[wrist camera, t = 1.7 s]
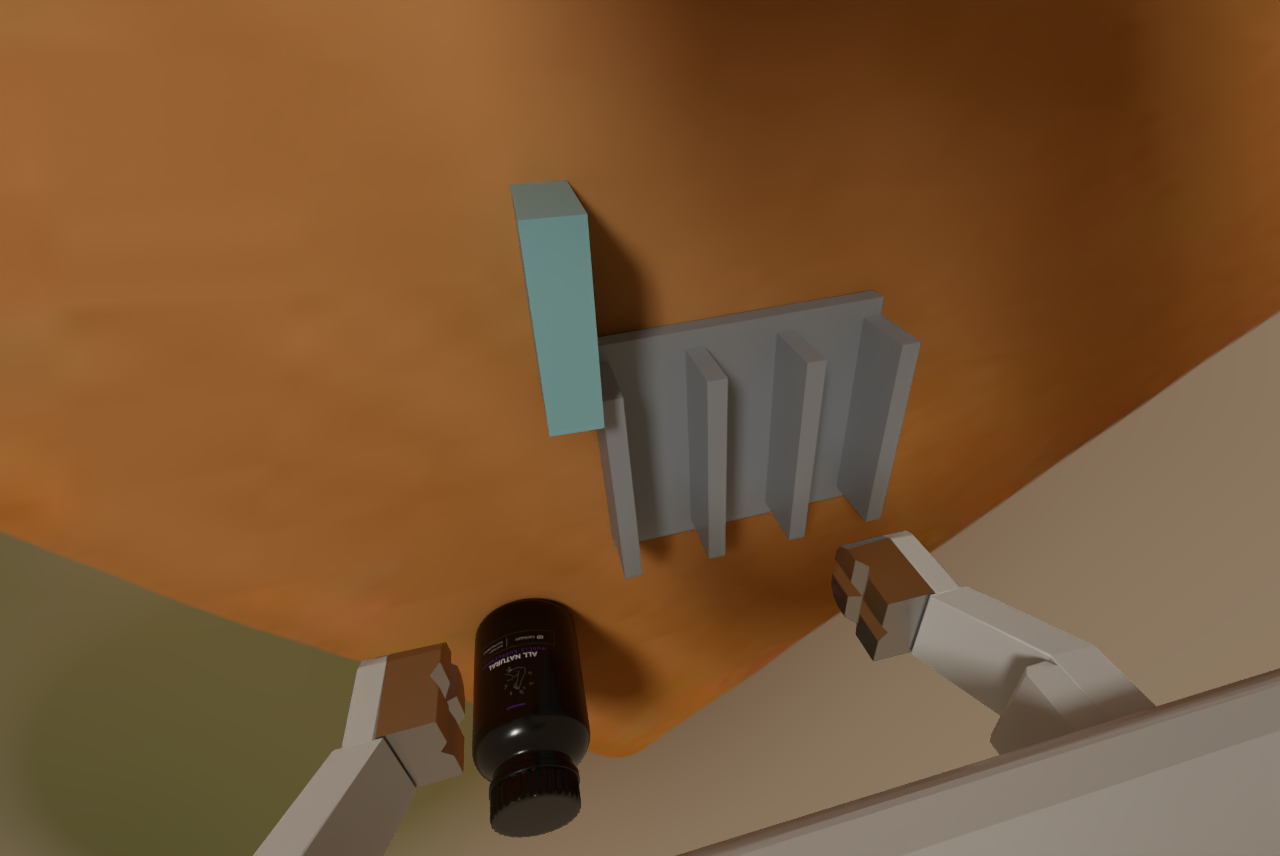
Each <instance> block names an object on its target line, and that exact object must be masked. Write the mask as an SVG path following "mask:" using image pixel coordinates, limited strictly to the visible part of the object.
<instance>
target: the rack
mask: <svg viewBox="0 0 1280 856" xmlns="http://www.w3.org/2000/svg"><path fill="white" fill-rule="evenodd" d="M883 299H884V296H882V295H880V294H879V293H877V292H876V291H874V290H871V291H865V292H859V293H853V294H847V295H842V296H836V297H830V298H824V299H818V300H812V301H807V302H801V303H795V304H789V305H783V306H777V307H772V308H766V309H760V310H754V311H748V312H742V313H737V314H731V315H725V316H719V317H713V318H707V319H702V320H696V321H690V322H684V323H678V324H672V325H667V326H661V327H655V328H649V329H643V330H637V331H632V332H626V333H620V334H614V335H608V336H602V337H597V340H598V352H599V365H600V377H601V389H602V402H603V414H604V427H605V428H602V429H597V434H598V440H599V447H600V454H601V461H602V468H603V475H604V482H605V488H606V495H607V502H608V509H609V516H610V523H611V530H612V536H613V540H614V544H615V547H617V549H618V553H619V557H620V561H621V564H622V568H623V572H624V575H625V579H626V578H631V577H635V576H639V575H642V566H641V557H640V548H639V542H640V541H645V540H649V539H653V538H658V537H662V536H667V535H671V534H675V533H680V532H684V531H689V530H693V529H696V531H697V533H698V536H699V538H700V540H701V542H702V545H703V547H704V549H705V551H706V554H707V556H708V558H709V559H711V558H716V557H720V556H724V555H725V535H726V522H729V521H733V520H737V519H742V518H746V517H751V516H755V515H759V514H764V513H768V512H772V514H773V515H774V517H775V519H776V520H777V522H778V524H779V525H780V527H781V528H782V530H783V532H784V533H785V535H786V536H787V538H788V540H792V539H797V538H801V537H804V536H805V529H806V521H807V513H808V505H809V503H812V502H817V501H821V500H826V499H830V498H835V497H839V496H843V495H844V496H845V497H846V499H847V500H848V501H849V502H850V504H851V505H852V506H853V507H854V509H855V510H856V511H857V512H858V514H859V515H860V516H861V517H862V519H863V520H864V521H865V522H869V521H873V520H877V519H881V514H882V510H883V506H884V501H885V497H886V493H887V488H888V484H889V480H890V475H891V471H892V467H893V462H894V458H895V454H896V449H897V445H898V440H899V436H900V432H901V427H902V423H903V419H904V414H905V410H906V406H907V401H908V397H909V393H910V388H911V384H912V380H913V375H914V371H915V367H916V362H917V358H918V354H919V349H920V345H921V341H919V340H918V339H916V338H915V337H914V336H912V335H911V334H909V333H908V332H906V331H905V330H903V329H902V328H900V327H899V326H897V325H896V324H894V323H893V322H891V321H890V320H889V319H887V318H886V317H884V316H883V315H881V310H882V305H883Z"/></svg>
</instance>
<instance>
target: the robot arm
mask: <svg viewBox="0 0 1280 856" xmlns="http://www.w3.org/2000/svg"><path fill="white" fill-rule="evenodd" d="M835 559H836V561H837V562H838V564H839V567H838V568H837V569H836V570H835V571H834V572H833V574H832V583H831V585H832V590H833V595H834V598H835V600H836V603H837V605H838V607H839V609H840V610H841V612H842V613H843V615H844V616H845V617H846V618H848V619H850V620H852V621H853V622H855V623H857V627H856V635H857V637H858V638H859V640H860V641H861V643H862V645H863V646H864V648H865V649H866V651H867V652H868V654H869V655H870V657H871V659H872V660H873V661H876V660H880V659H884V658H888V657H893V656H897V655H901V654H905V653H909V652H912V653H911V654H912V655H913V656H915V657H916V658H917V659H919V660H920V661H922V662H923V663H925V664H926V665H928V666H929V667H930V668H932V669H933V670H935V671H936V672H938V673H939V674H941V675H942V676H944V677H945V678H946V679H948V680H949V681H951V682H952V683H954V684H955V685H957V686H958V687H959V688H961V689H962V690H964V691H965V692H967V693H968V694H970V695H971V696H973V697H974V698H975V699H977V700H978V701H980V702H981V703H983V704H984V705H986V706H987V707H989V708H990V709H991V710H993V711H994V712H996V713H998V714H999V715H1000V716H1001V717H1000V719H999V720H998V722H997V724H996V726H995V728H994V730H993V732H992V734H991V739H990V742H991V744H992V745H993V747H994V748H995V749H996V751H997V752H998V753H999V756H995V757H992V758H989V759H986V760H983V761H979V762H976V763H973V764H970V765H966V766H964V767H960V768H957V769H954V770H950V771H947V772H944V773H941V774H938V775H934V776H931V777H928V778H925V779H921V780H918V781H915V782H912V783H908V784H905V785H902V786H899V787H896V788H892V789H889V790H886V791H883V792H880V793H876V794H873V795H870V796H867V797H863V798H860V799H857V800H854V801H850V802H848V803H844V804H841V805H838V806H835V807H831V808H828V809H825V810H822V811H818V812H815V813H812V814H809V815H806V816H802V817H799V818H796V819H793V820H789V821H786V822H783V823H780V824H776V825H773V826H770V827H767V828H763V829H760V830H757V831H754V832H751V833H747V834H744V835H741V836H738V837H734V838H731V839H728V840H725V841H722V842H719V843H716V844H712V845H709V846H706V847H702V848H699V849H696V850H693V851H689V852H686V853H683V854H680V855H677V856H1280V668H1279V669H1276V670H1273V671H1269V672H1267V673H1263V674H1260V675H1257V676H1253V677H1250V678H1247V679H1244V680H1240V681H1237V682H1234V683H1231V684H1228V685H1224V686H1221V687H1218V688H1215V689H1212V690H1208V691H1205V692H1202V693H1199V694H1195V695H1193V696H1189V697H1186V698H1182V699H1179V700H1177V701H1173V702H1170V703H1166V704H1163V705H1160V706H1157V707H1156V706H1155V705H1154V704H1153V703H1152V702H1151V701H1150V700H1149V699H1148V698H1147V697H1146V696H1145V695H1144V694H1143V693H1142V692H1141V691H1140V690H1139V689H1138V688H1137V687H1136V686H1135V685H1134V684H1133V683H1132V682H1131V681H1130V680H1129V679H1128V678H1127V677H1126V676H1125V675H1124V674H1123V673H1122V672H1121V671H1120V670H1119V669H1118V668H1116V667H1115V666H1114V665H1113V664H1112V663H1111V662H1110V661H1109V660H1108V659H1107V658H1106V657H1105V656H1104V655H1103V654H1102V653H1101V652H1100V651H1099V650H1098V649H1097V648H1096V647H1095V646H1094V645H1092V644H1090V643H1087V642H1085V641H1083V640H1081V639H1079V638H1077V637H1075V636H1072V635H1070V634H1068V633H1066V632H1064V631H1062V630H1060V629H1058V628H1056V627H1053V626H1051V625H1049V624H1047V623H1045V622H1043V621H1041V620H1038V619H1036V618H1034V617H1032V616H1030V615H1028V614H1026V613H1024V612H1021V611H1019V610H1017V609H1015V608H1013V607H1011V606H1009V605H1007V604H1004V603H1002V602H1000V601H998V600H996V599H993V598H992V597H989V596H987V595H985V594H983V593H981V592H979V591H977V590H975V589H972V588H970V587H968V586H963V587H959V585H958V584H957V583H956V582H955V581H954V580H953V579H952V578H951V577H950V575H949V574H948V573H947V572H946V571H945V570H944V569H943V568H942V567H941V566H940V564H939V563H938V562H937V561H936V560H935V559H934V558H933V557H932V555H931V554H930V553H929V552H928V551H927V550H926V549H925V548H924V546H923V545H922V544H921V543H920V542H919V541H918V540H917V539H916V538H915V536H914V535H913V534H912V533H910V532H908V531H901V532H897V533H893V534H889V535H885V536H878V537H874V538H870V539H866V540H863V541H859V542H855V543H851V544H847V545H843V546H840V547H839V548H838V549H837V551H836V557H835ZM464 716H465V695H464V685H463V681H462V677H461V673H460V671H459V669H458V666H456V665H454V664H452V663H451V651H450V649H449V647H448V645H447V643H446V642H445V643H440V644H435V645H431V646H426V647H421V648H417V649H412V650H407V651H403V652H398V653H393V654H389V655H384V656H380V657H376V658H372V659H367V660H363V661H362V662H361V664H360V666H359V668H358V670H357V675H356V679H355V684H354V689H353V695H352V699H351V704H350V709H349V714H348V719H347V724H346V729H345V734H344V739H343V744H342V748H340V749H336V750H333V751H332V753H331V754H330V755H329V757H328V758H327V759H326V761H325V762H324V763H323V764H322V766H321V767H320V768H319V770H318V771H317V772H316V774H315V775H314V776H313V778H312V779H311V780H310V782H309V783H308V784H307V785H306V787H305V788H304V789H303V791H302V792H301V793H300V795H299V796H298V797H297V799H296V800H295V801H294V803H293V804H292V805H291V807H290V808H289V809H288V811H287V812H286V813H285V814H284V816H283V817H282V818H281V820H280V821H279V822H278V824H277V825H276V826H275V828H274V829H273V830H272V832H271V833H270V834H269V835H268V837H267V838H266V839H265V841H264V842H263V843H262V845H261V846H260V847H259V849H258V850H257V851H256V853H255V854H254V855H253V856H383V855H384V853H385V851H386V849H387V847H388V846H389V844H390V842H391V840H392V838H393V836H394V834H395V832H396V830H397V829H398V827H399V825H400V823H401V821H402V819H403V817H404V815H405V813H406V811H407V809H408V808H409V806H410V804H411V802H412V800H413V798H414V796H415V794H416V792H417V789H416V788H417V787H421V786H424V785H427V784H431V783H434V782H437V781H440V780H443V779H447V778H450V777H454V776H457V775H460V774H463V770H464V736H463V734H462V732H461V730H460V728H459V723H460V722H461V720H462V719H463V717H464Z"/></svg>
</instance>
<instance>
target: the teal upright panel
mask: <svg viewBox="0 0 1280 856" xmlns="http://www.w3.org/2000/svg"><path fill="white" fill-rule="evenodd" d="M510 188H511V195H512V201H513V208H514V214H515V221H516V228H517V234H518V241H519V248H520V254H521V261H522V268H523V274H524V281H525V287H526V294H527V301H528V307H529V314H530V321H531V327H532V334H533V340H534V347H535V354H536V360H537V367H538V373H539V379H540V385H541V391H542V396H543V402H544V408H545V414H546V419H547V425H548V431H549V437H550V436H557V435H563V434H570V433H576V432H583V431H589V430H595V429H602V428H605V427H604V414H603V402H602V389H601V377H600V365H599V352H598V340H597V327H596V315H595V303H594V290H593V278H592V265H591V253H590V241H589V228H588V216H587V213H586V211H585V209H584V208H583V206H582V205H581V203H580V201H579V200H578V198H577V196H576V195H575V193H574V192H573V190H572V188H571V187H570V185H569V183H568V182H567V180H564V181H552V182H539V183H527V184H515V185H510Z"/></svg>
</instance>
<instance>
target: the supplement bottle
mask: <svg viewBox="0 0 1280 856" xmlns="http://www.w3.org/2000/svg"><path fill="white" fill-rule="evenodd" d="M589 742H590V727H589V720H588V713H587V706H586V699H585V692H584V685H583V678H582V671H581V664H580V657H579V650H578V643H577V636H576V630H575V625H574V621H573V619H572V617H571V615H570V614H569V613H568V612H567V611H566V610H565V609H564V608H563V607H561V606H559V605H558V604H556V603H553V602H550V601H546V600H541V599H524V600H518V601H514V602H510V603H507V604H505V605H503V606H501V607H499V608H497V609H495V610H494V611H492V612H491V613H490V614H489V615H487V616H486V617H485V619H484V620H483V621H482V622H481V624H480V625H479V627H478V630H477V633H476V638H475V656H474V693H473V729H472V757H473V761H474V764H475V766H476V768H477V770H478V771H479V773H480V774H481V775H482V776H483V777H484V778H485V779H487V780H488V781H489V782H491V783H490V786H489V800H490V823H491V826H492V829H494V830H495V832H498V833H499V834H501V835H504V836H510V837H531V836H537V835H540V834H545V833H548V832H551V831H554V830H556V829H559V828H561V827H563V826H565V825H567V824H568V823H569V822H571V821H572V820H573V819H574V818H575V817H576V816H577V814H578V813H579V812H580V808H581V798H580V791H579V783H580V777H579V771H578V768H577V767H576V766H577V765H578V764H579V763H580V762H581V760H582V759H583V757H584V755H585V754H586V752H587V749H588V746H589Z"/></svg>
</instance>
